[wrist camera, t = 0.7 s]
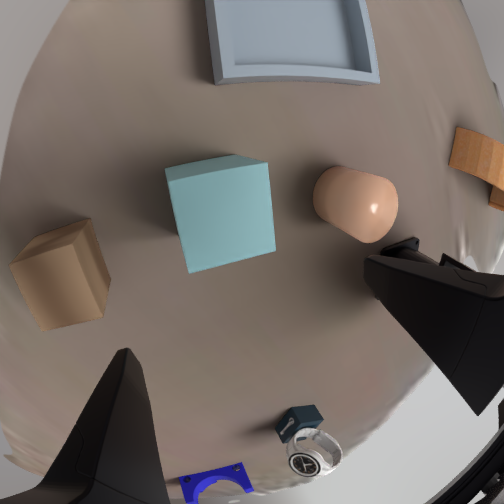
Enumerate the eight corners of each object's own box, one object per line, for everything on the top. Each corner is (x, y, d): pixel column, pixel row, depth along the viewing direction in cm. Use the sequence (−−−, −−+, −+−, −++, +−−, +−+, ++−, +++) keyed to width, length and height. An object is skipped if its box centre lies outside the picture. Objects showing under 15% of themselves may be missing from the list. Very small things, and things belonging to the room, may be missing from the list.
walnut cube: (90, 217, 17) (72, 243, 13) (111, 278, 19) (103, 317, 15) (35, 236, 16) (8, 265, 11) (58, 292, 18) (42, 331, 14)
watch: (280, 408, 33) (315, 470, 24) (322, 403, 37) (358, 455, 27) (263, 429, 35) (293, 488, 25) (305, 424, 38) (336, 474, 29)
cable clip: (185, 482, 38) (193, 506, 32) (178, 476, 36) (185, 502, 30) (244, 468, 41) (254, 492, 35) (241, 461, 39) (252, 487, 33)
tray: (338, -28, 14) (354, -37, 11) (360, 85, 19) (380, 83, 17) (199, -46, 10) (206, -62, 8) (214, 85, 16) (223, 78, 14)
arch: (456, 125, 25) (520, 139, 16) (496, 177, 33) (538, 194, 25) (447, 165, 27) (513, 186, 18) (488, 206, 35) (531, 226, 26)
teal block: (235, 154, 19) (267, 162, 14) (243, 219, 21) (275, 250, 16) (164, 168, 17) (168, 181, 12) (178, 235, 20) (189, 273, 15)
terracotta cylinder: (358, 163, 22) (399, 174, 18) (358, 216, 25) (395, 235, 20) (310, 169, 21) (349, 180, 17) (313, 227, 23) (348, 250, 19)
